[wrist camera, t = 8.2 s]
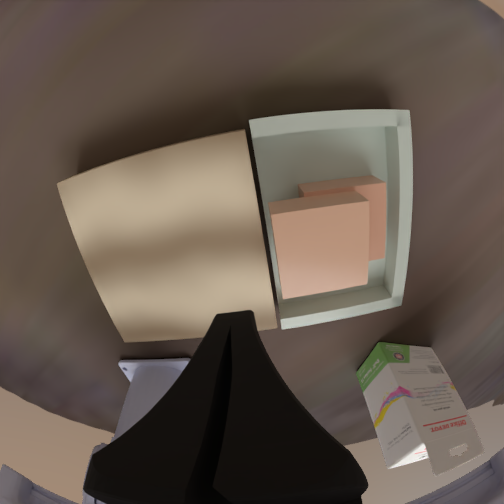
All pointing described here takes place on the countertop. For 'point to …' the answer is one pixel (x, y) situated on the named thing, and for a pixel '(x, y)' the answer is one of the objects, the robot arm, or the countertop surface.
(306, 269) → the tile front
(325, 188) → the tile rear
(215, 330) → the robot arm
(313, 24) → the countertop surface
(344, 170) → the tray
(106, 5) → the countertop surface
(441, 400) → the ink box
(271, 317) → the beige square slab
